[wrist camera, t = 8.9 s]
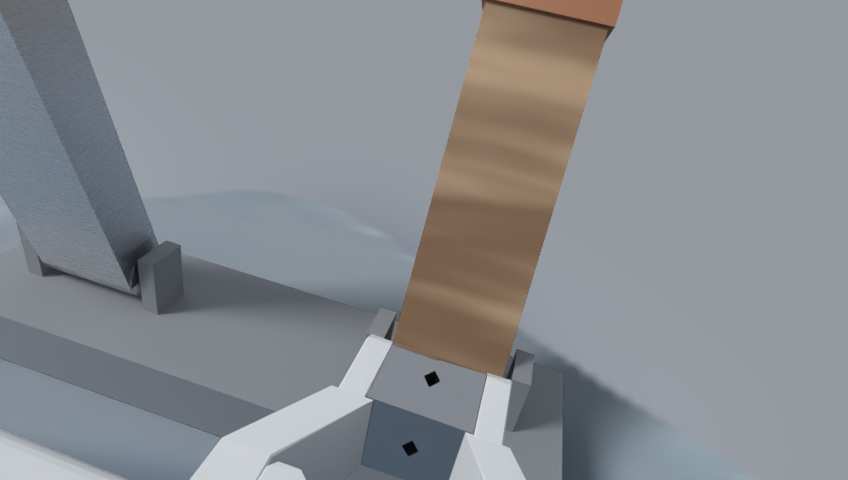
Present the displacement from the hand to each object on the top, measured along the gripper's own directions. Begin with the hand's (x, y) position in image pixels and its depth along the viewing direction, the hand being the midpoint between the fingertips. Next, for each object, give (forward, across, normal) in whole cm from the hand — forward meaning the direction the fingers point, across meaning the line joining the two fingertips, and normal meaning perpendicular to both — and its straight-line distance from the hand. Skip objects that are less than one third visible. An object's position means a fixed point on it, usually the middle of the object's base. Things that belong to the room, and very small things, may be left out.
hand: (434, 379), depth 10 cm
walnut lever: (+10, 0, -10) cm, 14 cm away
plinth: (+10, -9, -14) cm, 19 cm away
